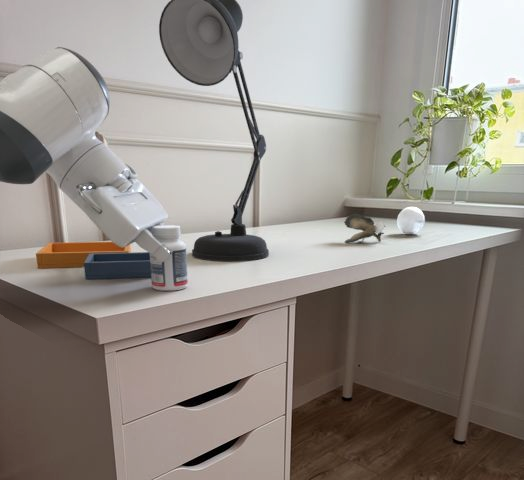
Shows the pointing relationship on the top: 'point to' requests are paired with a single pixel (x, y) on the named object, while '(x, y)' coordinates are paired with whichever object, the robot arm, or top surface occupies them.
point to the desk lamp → (207, 74)
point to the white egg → (410, 220)
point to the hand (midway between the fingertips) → (172, 254)
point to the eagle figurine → (363, 227)
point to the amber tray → (74, 253)
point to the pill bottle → (169, 260)
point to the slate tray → (117, 265)
